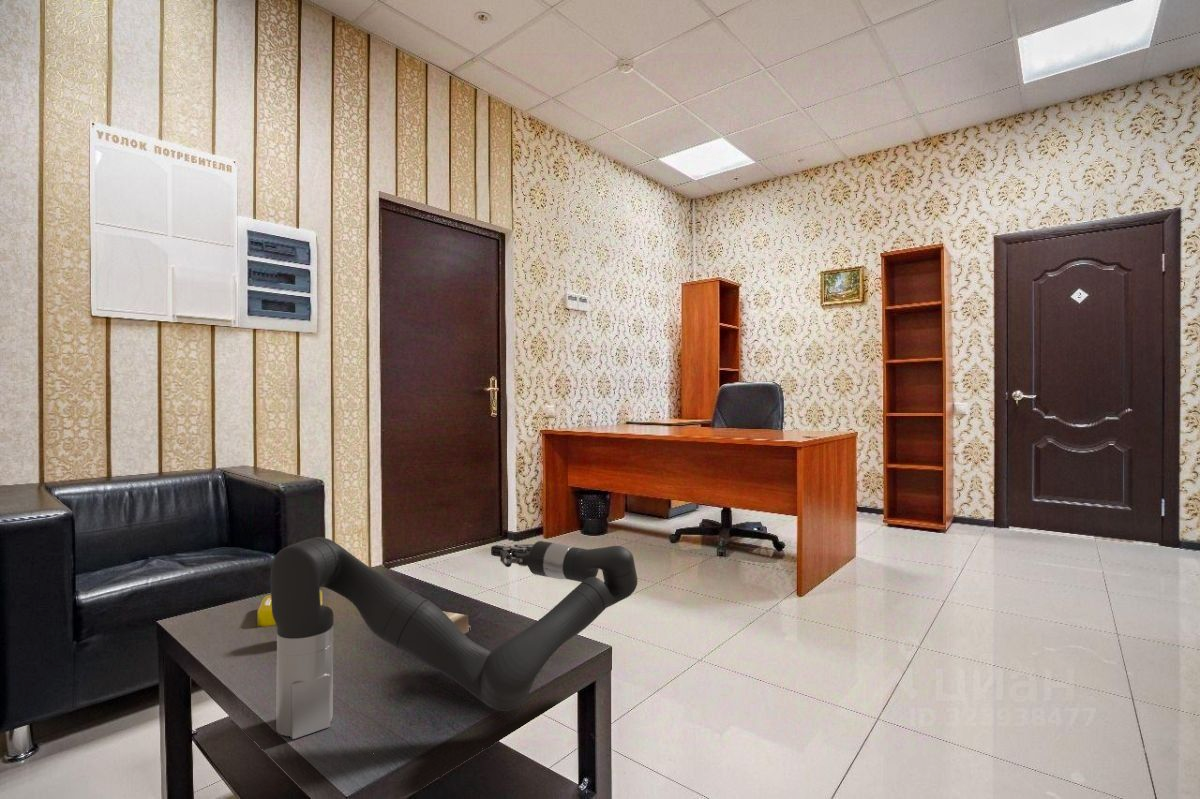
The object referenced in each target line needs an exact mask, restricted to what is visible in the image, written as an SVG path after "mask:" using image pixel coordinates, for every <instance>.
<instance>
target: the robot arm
mask: <svg viewBox="0 0 1200 799" xmlns="http://www.w3.org/2000/svg"><path fill="white" fill-rule="evenodd" d="M490 554H491V556H494V557H499V558H500V559H499V560H500V562H501V564H503V566H505V567H507V568H510V567H511V566H512V564H515V565H518V566H520V567H528V569H529V571H530V572H531V574H532V575H534V576H535V575H536V576H542V577H545V578H546V577H547V578H551V579H557V580H570V581H575V582H580V583H579V584H578V585H577V586H576V587H575V588H574V589H572V590H571V591H570V592H569V593H568V594H567V595H566V596H565V597H564V598H563V599H562V600H560V601H559V602H558V603H557V604H556V605H554V607H552V608H551V609H550V610H549V611H548V612H547V613H546V614H544V615H543V616H542V617H541V618H539V619H538V620H536V622H534V623H532V624H531V625H530V626H528V627H527V628H526V629H524V630H522V631H521V632H518V633H517V634H516V635H514V636H513V637H512V636H511V638H510V639H507V640H506V641H504V642H503V643H501V644H499V645H498V646H497V647H495V648H494V649H493V650H490V649H487V648H485V647H483V646H482V645H479V644H478V643H476V642H475V641H473V640H472V639H470V638H469V637H468V636H467V635H466V634H463V633H462V632H461V630H460V629H459V628H458V627H457V626H456V625H455V624H454V623H453V622H452V621H451V619H450V618H449V617H448V616H447V615H446V614H445V613H444V612H445V611H444V612H443V610H442V609H441V608H440V607H438V606H437V605H436V604H434V603H433V602H432V601H431V600H428V599H427V598H425V597H423V596H421V595H420V594H418V593H417V592H415V591H413V590H410V589H409V588H407V587H405V586H403V585H401V584H400V583H398V582H396V581H394V580H392V579H391V578H389V577H387V576H386V575H384V574H382V573H381V572H378V571H376V570H375V569H373V568H372V567H370V566H368V565H367V564H366V563H364V562H362V561H361V560H360V559H359V558H357V557H356V556H355V555H353V554H352V553H351V552H349V551H348V550H346V549H345V548H344V547H342V546H341V545H340V544H339V543H337V542H335V541H333V540H332V539H329V538H327V537H323V536H315V537H310V538H307V539H304V540H301V541H299V542H295V543H293V544H289V545H288V546H286V547H283V549H280V550H279V551H278V552H277V553H276V555H275V556H274V558H273V560H272V563H271V569H270V595H271V602H272V614H273V618H274V620H275V622H276V625H275V626H276V683H275V685H276V689H275V690H276V696H275V697H276V699H275V700H276V701H275V702H276V703H275V705H276V706H275V707H276V708H275V710H276V712H275V715H276V716H275V717H276V718H275V720H276V721H275V723H276V724H275V726H276V727H275V730H276V732H277V733H278V734H279V735H281V736H283V735H284V736H283V737H289V736H290V738H291V740H295V739H298V738H301V737H303V736H307V735H310V734H313V733H315V732H319V731H322V730H324V729H327V728H328V729H329V728H330V727H331V722H332V720H333V716H334V713H333V712H334V708H333V705H334V701H333V700H334V625H335V624H334V621H335V620H334V611H333V609H332V608H331V607H330V606H327V605H323V604H322V605H320V590H321V587H322V588H325V589H328V590H331V591H333V592H335V593H336V594H338V595H340V596H341V597H343V598H345V599H347V600H348V601H349V602H351V604H352V605H354V607H355V608H356V610H357V611H358V613H359V615H360V616H361V617H362V619H363V621H364V623H365V624H366V626H367V627H368V628H369V630H370V631H371V632H372V633H373V634H374V635H376V637H378V639H381V640H382V641H384V642H386V643H388V644H389V645H391V646H393V647H395V649H398V650H400V652H401V651H402V652H404V653H406V654H407V655H409V656H412V658H415V659H417V660H418V661H420V662H422V663H424V664H425V665H426V666H428V667H430V668H432V669H434V670H435V671H438V672H440V673H442V674H443V675H445V676H447V677H449V678H450V679H452V680H453V681H455V682H456V683H457V684H459V685H460V686H462V687H463V689H465V690H467V692H469V693H470V694H472V696H474V697H476V698H477V699H478V700H480V702H482V703H483V704H485V705H486V706H488V707H489V708H492V709H493V710H496V711H500V712H508V711H513V710H515V709H517V708H519V707H521V705H522V704H523V703H525V701H526V700H527V698H528V695H529V694H530V692H531V689H532V687H533V685H534V683H535V680H536V678H537V676H538V675H539V673H540V671H541V670H542V669H543V667H545V665H546V663H547V662H548V661H549V659H550V658H551V657H552V656H553V655H554V654H555V653H556V651H558V649H559V648H561V646H563V645H564V644H565V643H566V642H567V641H569V640H571V639H572V638H574V637H575V636H577V635H578V634H580V633H581V632H583V630H585V629H586V628H587V627H589V625H591V624H592V623H593V622H594V621H595V620H596V619H597V618H599V616H600V615H601V614H602V613H603V612H604V611H605V610H606V609H607V608H610V607H611V606H613V605H616V604H617V603H618V602H621V601H624V600H625V599H628V598H629V597H630V596H631V595H632V594H633V593H634V592H635V590H636V588H637V586H638V575H637V570H636V564H635V559H634V555H633V553H632V552H631V550H629V549H628V548H626V547H624V546H621V545H611V546H605V547H599V548H590V549H589V548H588V549H587V548H582V547H576V546H575V547H574V546H571V545H568V544H562V543H556V542H550V541H549V542H548V541H544V540H543V541H542V540H538V541H537V542H535V543H534V544H531V543H530V544H514V545H513V546H512V545H508V546H504V545H498V544H495V545H493V546H491V547H490ZM599 570H601V571H602V572H601V573H602V576H603V581H602V580H601V579H600V578H599V577H597V575H598V573H599Z"/></svg>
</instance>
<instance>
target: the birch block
mask: <svg viewBox="0 0 1200 799" xmlns="http://www.w3.org/2000/svg"><path fill="white" fill-rule="evenodd" d="M442 611H443V610H442ZM443 612H444V613H445V614H446V615H447V616H448V617H449V618H450V619H451V621H452V622H453V623H454V624H455V625H456V626H457V627H458V628H459V629H460V630H461V632H462V633H463V634H464V635H466V633H469V626H470V624H469V615H468V614H462V613H457V612H456V613H455V612H449V611H443Z"/></svg>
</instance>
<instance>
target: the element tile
mask: <svg viewBox="0 0 1200 799" xmlns="http://www.w3.org/2000/svg"><path fill="white" fill-rule="evenodd" d="M320 605H323V590H321V589H320ZM256 620H257V627H260V628H261V627H271V626H272V627H273V626H277V625H276V622H275V620H274V618H273V614H272V602H271V594H268V595H266V596H264V597H263V598H262V601H261V603H260V605H259V606H258V609H257V619H256Z"/></svg>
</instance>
